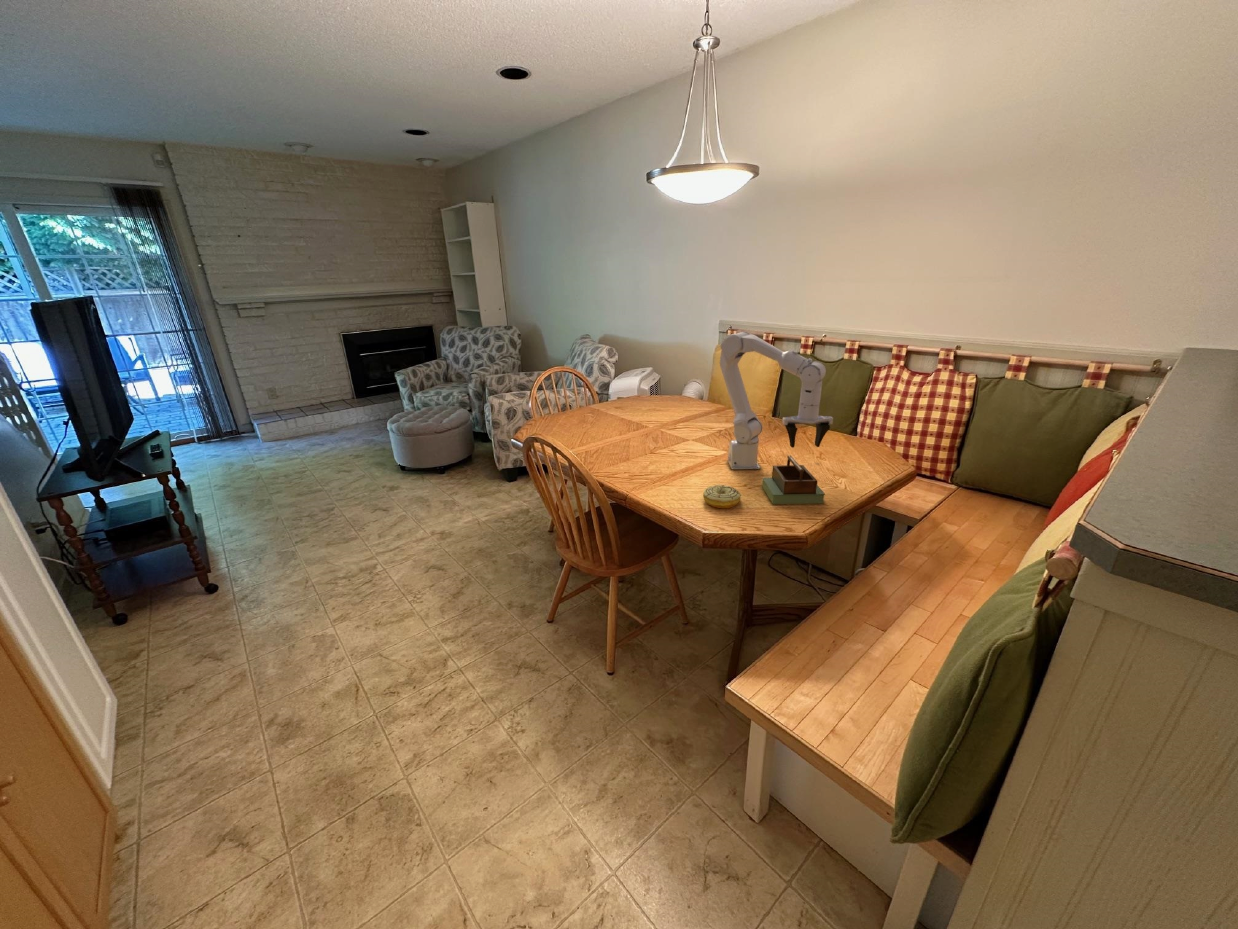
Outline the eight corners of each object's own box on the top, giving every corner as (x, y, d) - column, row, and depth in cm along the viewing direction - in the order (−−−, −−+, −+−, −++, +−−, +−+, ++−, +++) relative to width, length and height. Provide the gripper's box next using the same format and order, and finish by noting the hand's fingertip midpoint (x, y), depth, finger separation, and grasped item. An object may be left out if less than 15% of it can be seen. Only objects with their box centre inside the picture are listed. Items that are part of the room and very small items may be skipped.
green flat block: (772, 504, 135) (773, 494, 134) (761, 486, 146) (762, 477, 145) (824, 503, 134) (825, 494, 133) (808, 485, 146) (809, 476, 145)
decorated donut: (743, 496, 140) (743, 485, 139) (737, 512, 131) (738, 500, 129) (707, 492, 144) (708, 480, 142) (699, 507, 134) (700, 495, 133)
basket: (783, 494, 134) (785, 470, 131) (771, 477, 145) (773, 454, 142) (815, 493, 133) (819, 469, 131) (801, 477, 144) (804, 454, 142)
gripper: (789, 407, 140) (784, 451, 145) (839, 406, 139) (833, 450, 144) (782, 401, 146) (778, 443, 151) (830, 400, 146) (824, 442, 151)
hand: (804, 446), depth 148 cm, fingers open, 7 cm apart
